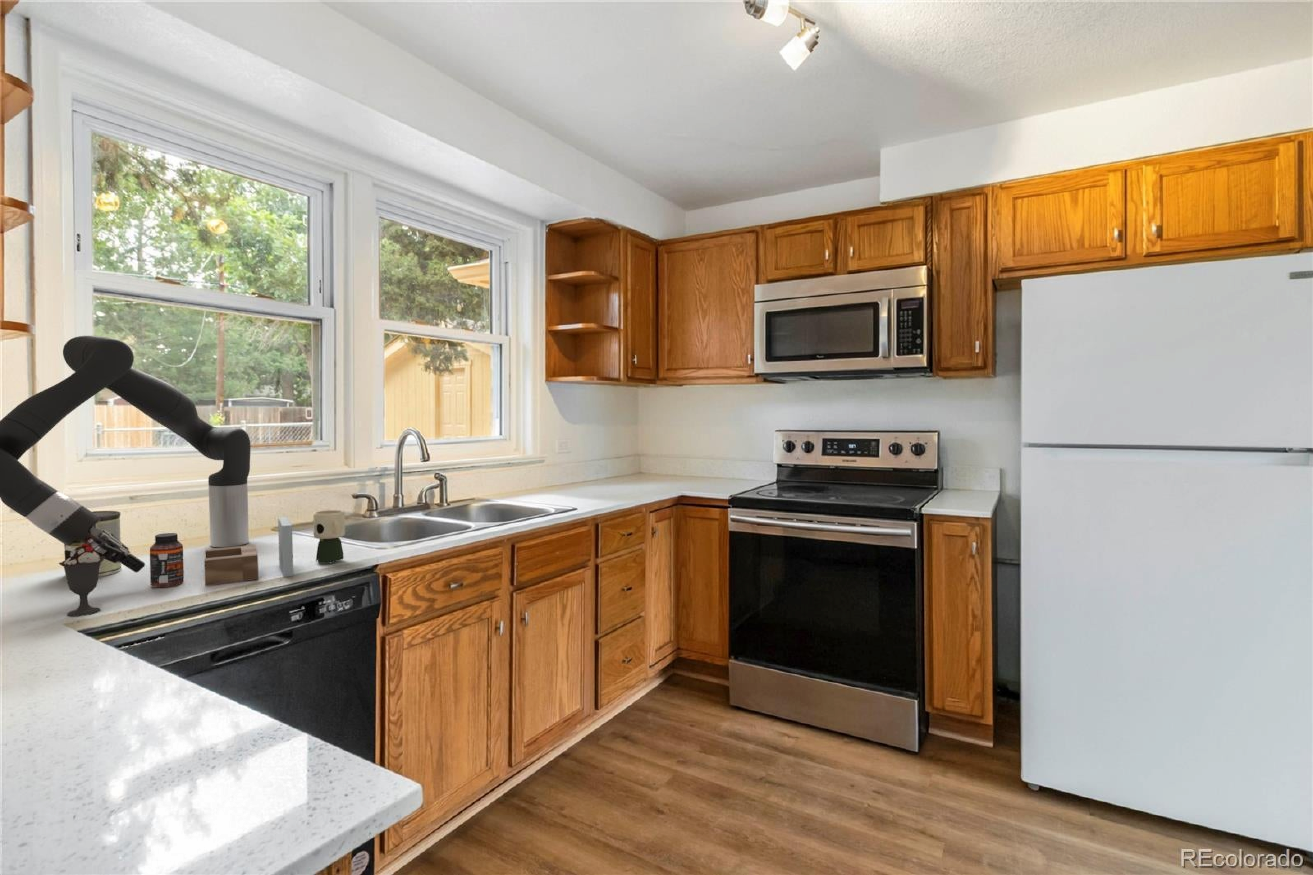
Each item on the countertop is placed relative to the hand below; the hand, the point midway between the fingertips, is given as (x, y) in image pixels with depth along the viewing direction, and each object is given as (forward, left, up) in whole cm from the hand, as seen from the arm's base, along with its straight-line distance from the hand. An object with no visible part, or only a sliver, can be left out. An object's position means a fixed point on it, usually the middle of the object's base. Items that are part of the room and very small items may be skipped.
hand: (141, 568), depth 142 cm
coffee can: (-21, -11, -4) cm, 24 cm away
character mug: (-3, +37, -4) cm, 38 cm away
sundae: (+15, -8, -4) cm, 18 cm away
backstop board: (0, +27, -4) cm, 28 cm away
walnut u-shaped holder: (0, +16, -4) cm, 17 cm away
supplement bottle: (0, +4, -4) cm, 6 cm away
